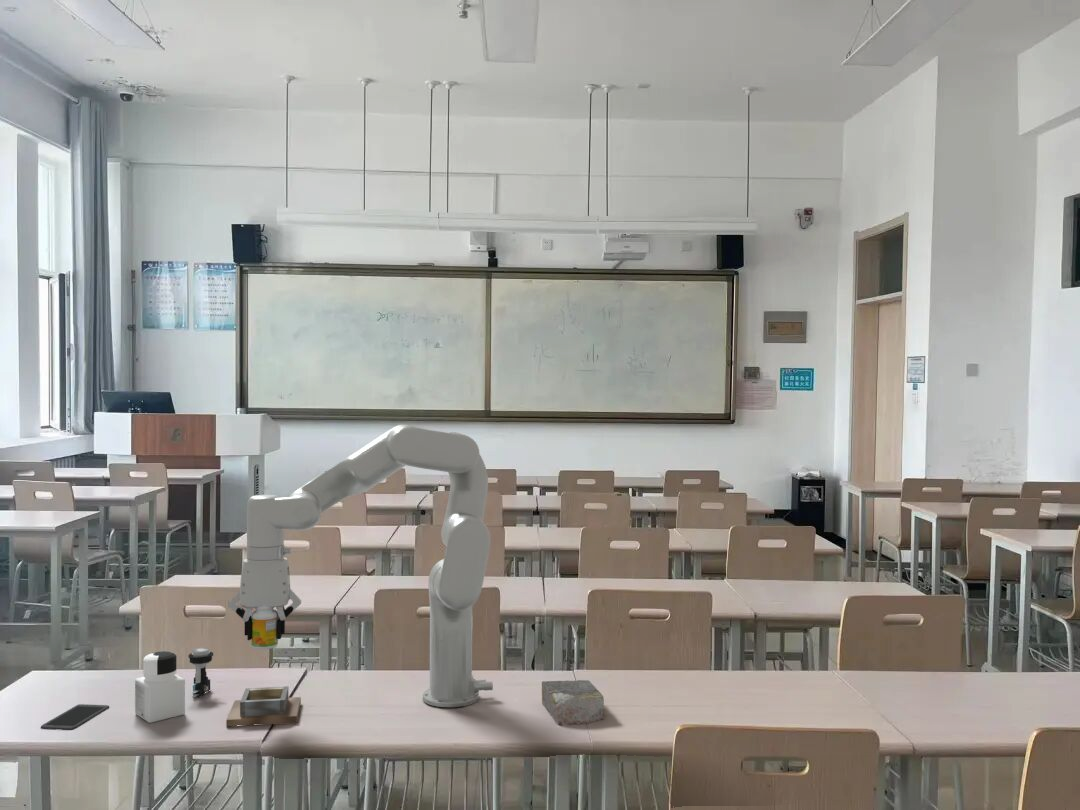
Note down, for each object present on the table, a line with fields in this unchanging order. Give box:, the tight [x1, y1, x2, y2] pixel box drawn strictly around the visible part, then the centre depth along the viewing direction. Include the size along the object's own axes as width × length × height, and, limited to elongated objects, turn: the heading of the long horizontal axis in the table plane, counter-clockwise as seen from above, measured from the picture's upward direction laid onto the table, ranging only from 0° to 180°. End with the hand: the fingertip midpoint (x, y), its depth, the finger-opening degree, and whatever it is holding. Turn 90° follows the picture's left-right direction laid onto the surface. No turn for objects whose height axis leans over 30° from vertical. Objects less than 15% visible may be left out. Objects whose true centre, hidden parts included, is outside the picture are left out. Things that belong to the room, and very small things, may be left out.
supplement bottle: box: [251, 606, 279, 651], centre depth 198 cm, size 5×5×10 cm
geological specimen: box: [541, 679, 605, 726], centre depth 202 cm, size 11×6×15 cm
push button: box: [187, 647, 214, 698], centre depth 211 cm, size 7×5×10 cm
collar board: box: [225, 686, 302, 726], centre depth 198 cm, size 14×12×4 cm
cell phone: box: [40, 703, 110, 731], centre depth 196 cm, size 7×14×1 cm, turn 175°
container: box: [134, 650, 186, 724], centre depth 198 cm, size 8×8×13 cm
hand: (264, 637), depth 198 cm, fingers closed on supplement bottle, 5 cm apart
